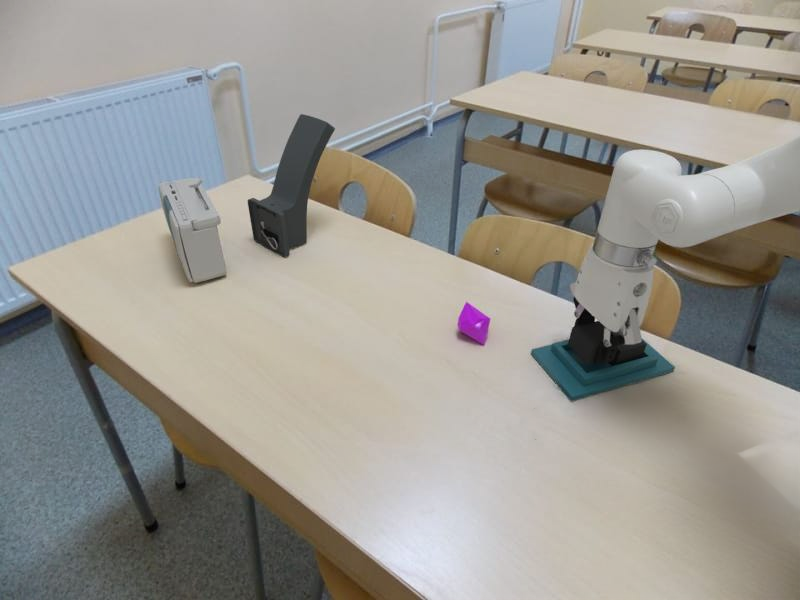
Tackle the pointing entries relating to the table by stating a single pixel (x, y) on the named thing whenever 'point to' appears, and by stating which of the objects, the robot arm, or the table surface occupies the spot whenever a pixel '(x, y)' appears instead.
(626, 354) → the black block
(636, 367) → the dock
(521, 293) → the table surface
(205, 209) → the radio
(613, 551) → the table surface
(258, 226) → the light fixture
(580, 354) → the black square block
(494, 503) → the table surface
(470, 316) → the crystal
